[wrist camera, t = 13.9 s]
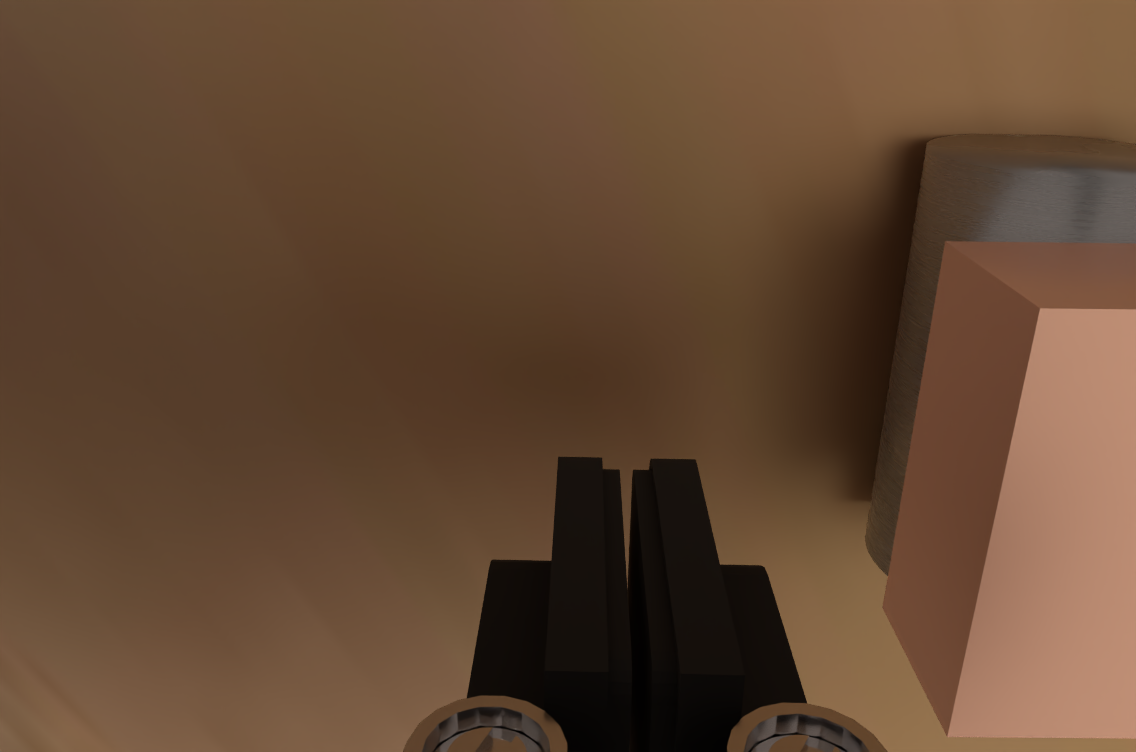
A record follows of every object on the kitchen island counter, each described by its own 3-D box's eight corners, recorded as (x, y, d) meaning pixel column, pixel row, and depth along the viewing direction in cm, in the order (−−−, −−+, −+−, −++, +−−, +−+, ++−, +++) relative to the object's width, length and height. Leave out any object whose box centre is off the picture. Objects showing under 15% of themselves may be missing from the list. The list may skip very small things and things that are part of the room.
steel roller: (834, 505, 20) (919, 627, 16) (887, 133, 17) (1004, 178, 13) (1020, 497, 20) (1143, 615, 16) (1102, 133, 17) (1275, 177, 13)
